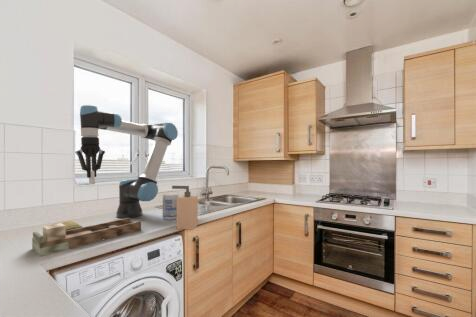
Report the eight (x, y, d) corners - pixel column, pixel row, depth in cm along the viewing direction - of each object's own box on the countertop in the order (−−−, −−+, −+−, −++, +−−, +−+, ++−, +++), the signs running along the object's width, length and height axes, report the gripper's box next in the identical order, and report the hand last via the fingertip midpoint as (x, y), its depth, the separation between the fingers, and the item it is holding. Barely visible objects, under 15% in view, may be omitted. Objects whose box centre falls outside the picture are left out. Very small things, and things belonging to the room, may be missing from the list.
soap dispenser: (197, 225, 127) (197, 185, 127) (192, 229, 118) (192, 187, 118) (175, 224, 129) (175, 184, 129) (169, 228, 120) (169, 186, 120)
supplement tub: (165, 221, 135) (165, 195, 135) (160, 217, 143) (160, 193, 143) (181, 218, 141) (181, 194, 141) (175, 215, 149) (175, 192, 149)
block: (61, 237, 99) (61, 223, 99) (65, 240, 95) (65, 225, 95) (43, 241, 94) (43, 226, 94) (47, 244, 90) (47, 229, 90)
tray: (129, 225, 125) (129, 213, 125) (140, 230, 118) (140, 216, 118) (32, 248, 94) (32, 231, 94) (40, 256, 86) (40, 237, 86)
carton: (72, 228, 122) (72, 220, 122) (83, 234, 112) (83, 225, 112) (52, 232, 116) (53, 223, 116) (62, 239, 106) (62, 229, 106)
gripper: (100, 137, 123) (102, 181, 124) (72, 136, 112) (74, 185, 113) (107, 137, 118) (109, 182, 119) (78, 136, 108) (80, 186, 109)
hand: (92, 183), depth 116 cm, fingers closed
